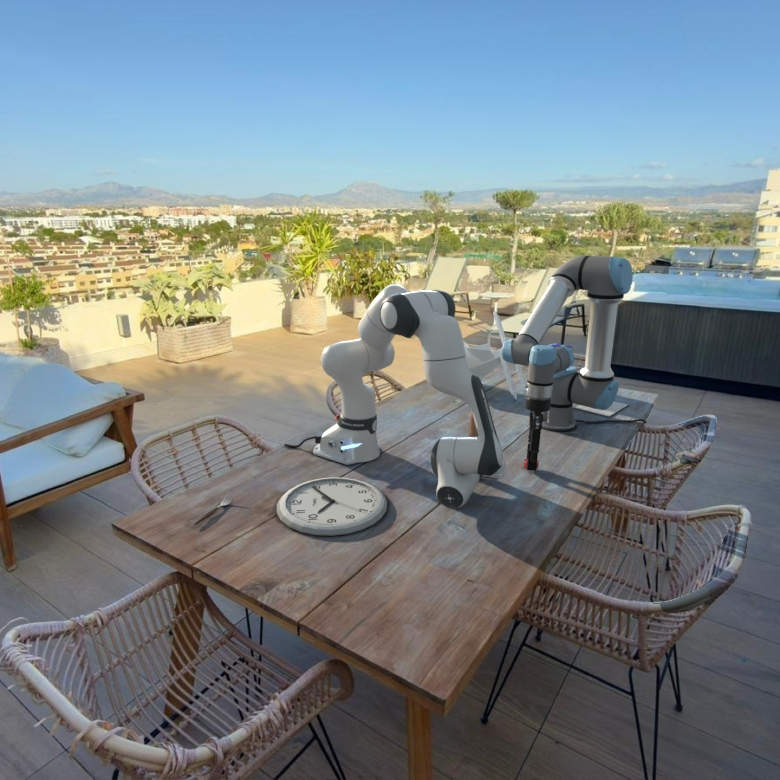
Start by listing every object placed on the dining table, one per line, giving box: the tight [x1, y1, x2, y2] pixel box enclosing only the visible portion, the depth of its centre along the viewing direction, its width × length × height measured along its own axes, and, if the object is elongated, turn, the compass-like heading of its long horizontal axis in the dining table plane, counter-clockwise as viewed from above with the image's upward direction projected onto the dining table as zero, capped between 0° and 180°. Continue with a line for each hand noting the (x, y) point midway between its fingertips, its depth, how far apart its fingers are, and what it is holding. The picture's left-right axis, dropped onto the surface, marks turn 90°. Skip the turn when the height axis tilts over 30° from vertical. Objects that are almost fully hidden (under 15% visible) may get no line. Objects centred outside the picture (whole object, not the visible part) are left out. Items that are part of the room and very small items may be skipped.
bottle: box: [468, 410, 478, 437], centre depth 158 cm, size 5×5×26 cm
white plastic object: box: [463, 310, 528, 400], centre depth 245 cm, size 37×45×31 cm
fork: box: [193, 490, 237, 526], centre depth 138 cm, size 3×16×2 cm, turn 160°
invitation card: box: [573, 401, 629, 418], centre depth 226 cm, size 21×1×15 cm
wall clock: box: [276, 476, 388, 537], centre depth 142 cm, size 30×2×30 cm
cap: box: [523, 457, 540, 470], centre depth 165 cm, size 4×4×2 cm
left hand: (475, 454), depth 160 cm, fingers closed on bottle, 5 cm apart
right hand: (531, 466), depth 166 cm, fingers open, 5 cm apart
